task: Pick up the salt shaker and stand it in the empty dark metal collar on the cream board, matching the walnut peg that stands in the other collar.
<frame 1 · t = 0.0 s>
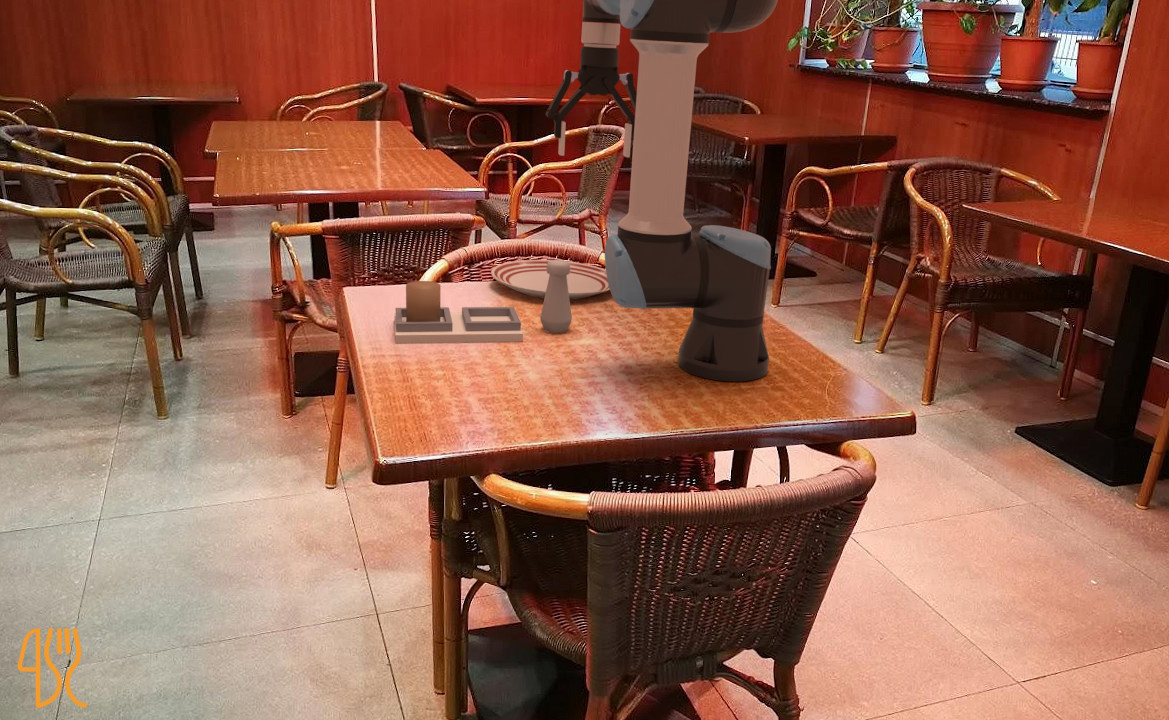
hand: (594, 155, 193), 28 cm above the table, tool pointing down, fingers open, 13 cm apart
layout board: (457, 330, 170), on the table
salt shaker: (555, 330, 174), on the table
dinner plate: (555, 289, 202), on the table
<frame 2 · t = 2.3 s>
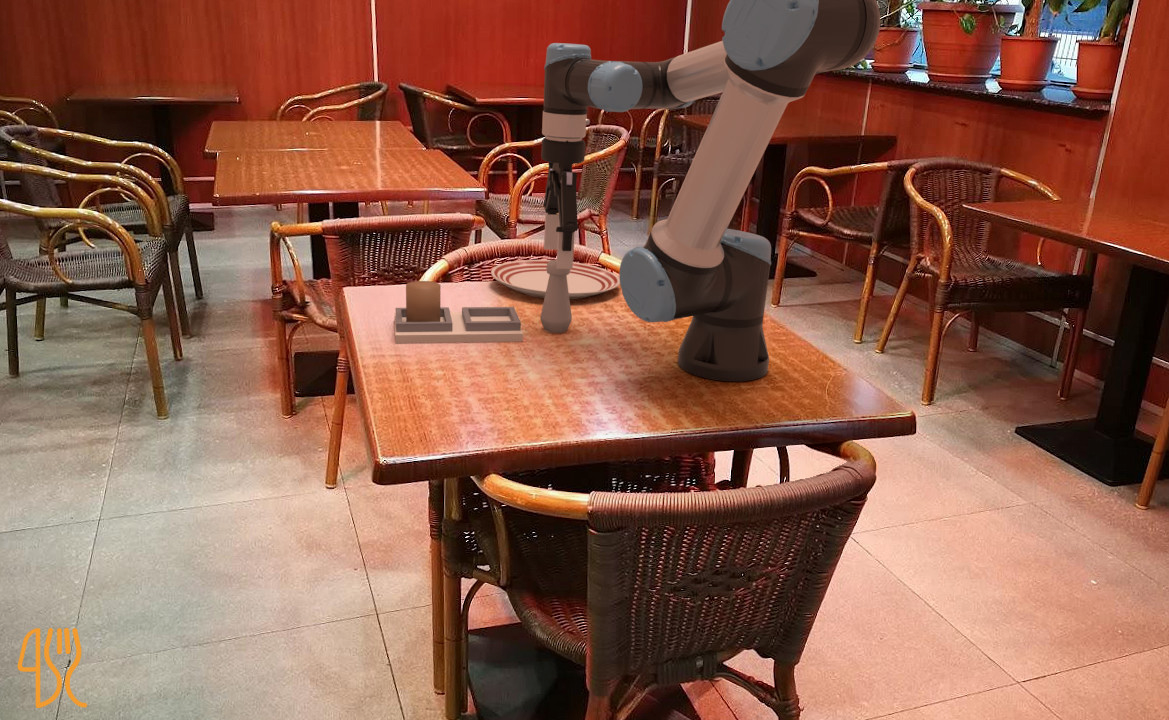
hand: (557, 258, 170), 13 cm above the table, tool pointing down, fingers open, 13 cm apart
nothing on the table moved.
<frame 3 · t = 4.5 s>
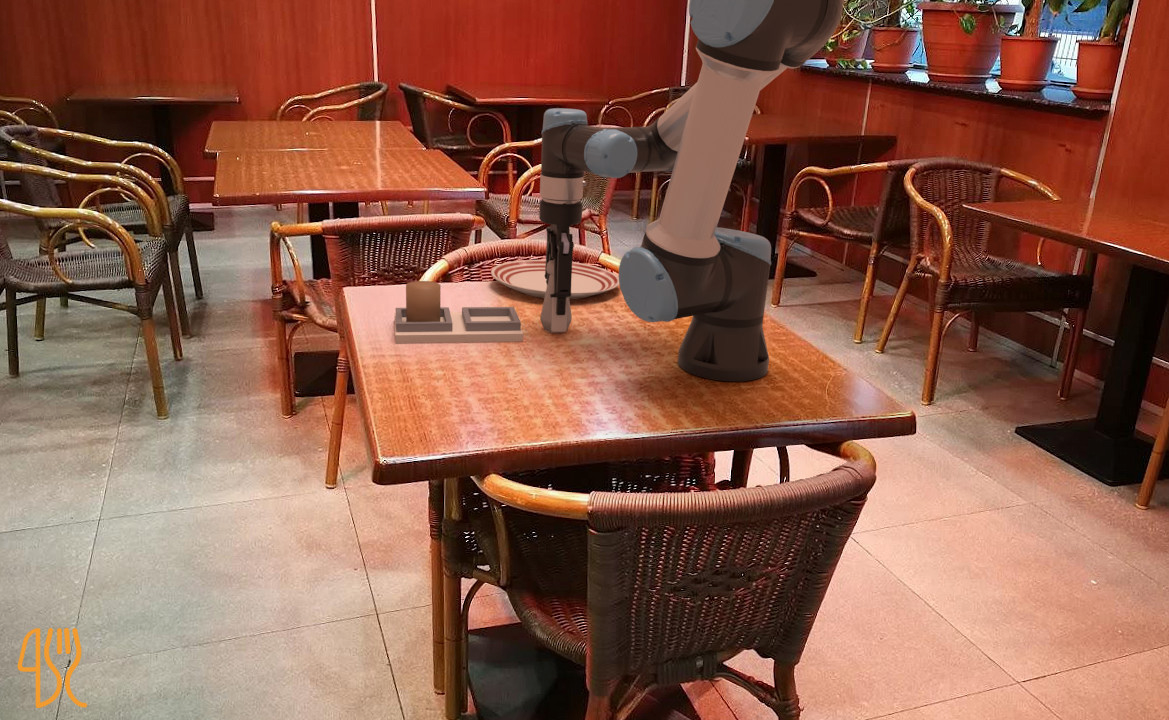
hand: (555, 325, 174), 1 cm above the table, tool pointing down, fingers closed on salt shaker, 6 cm apart
salt shaker: (555, 330, 174), on the table, touching gripper
everything else where it was.
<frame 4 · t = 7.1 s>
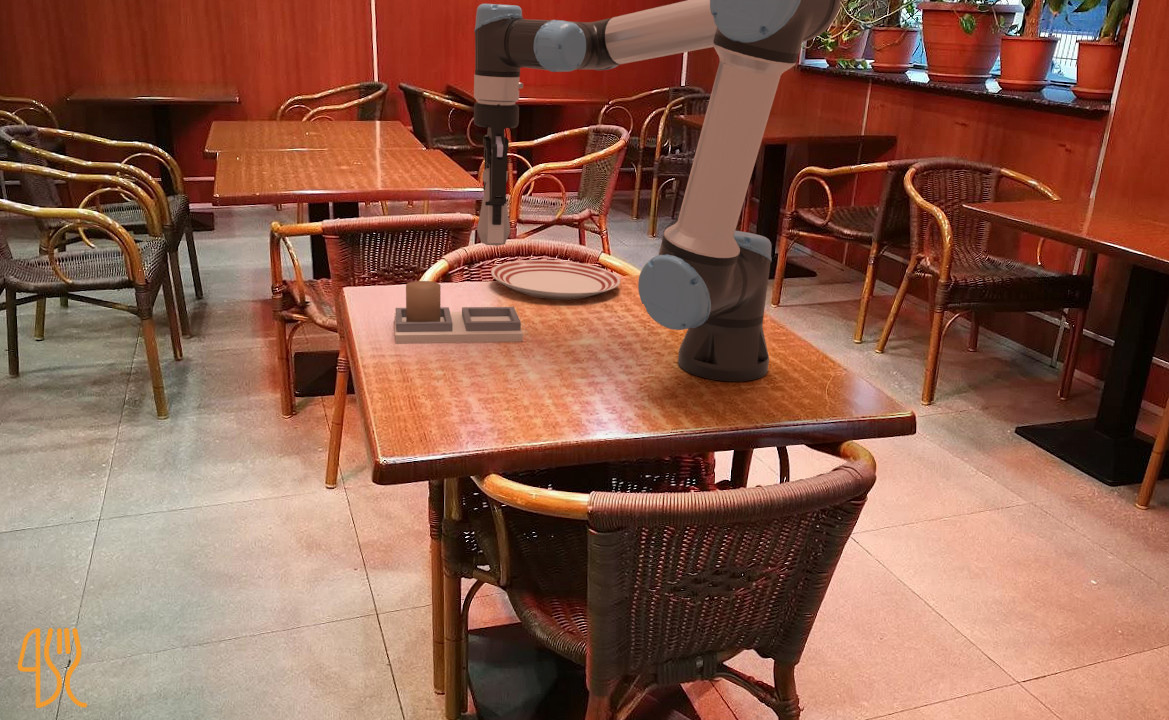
hand: (493, 238, 166), 17 cm above the table, tool pointing down, fingers closed on salt shaker, 6 cm apart
salt shaker: (493, 244, 167), point 16 cm above the table, touching gripper
everything else where it was.
when the fingers open (4 cm above the table, at t = 10.1 s): salt shaker drops 2 cm, resting on layout board.
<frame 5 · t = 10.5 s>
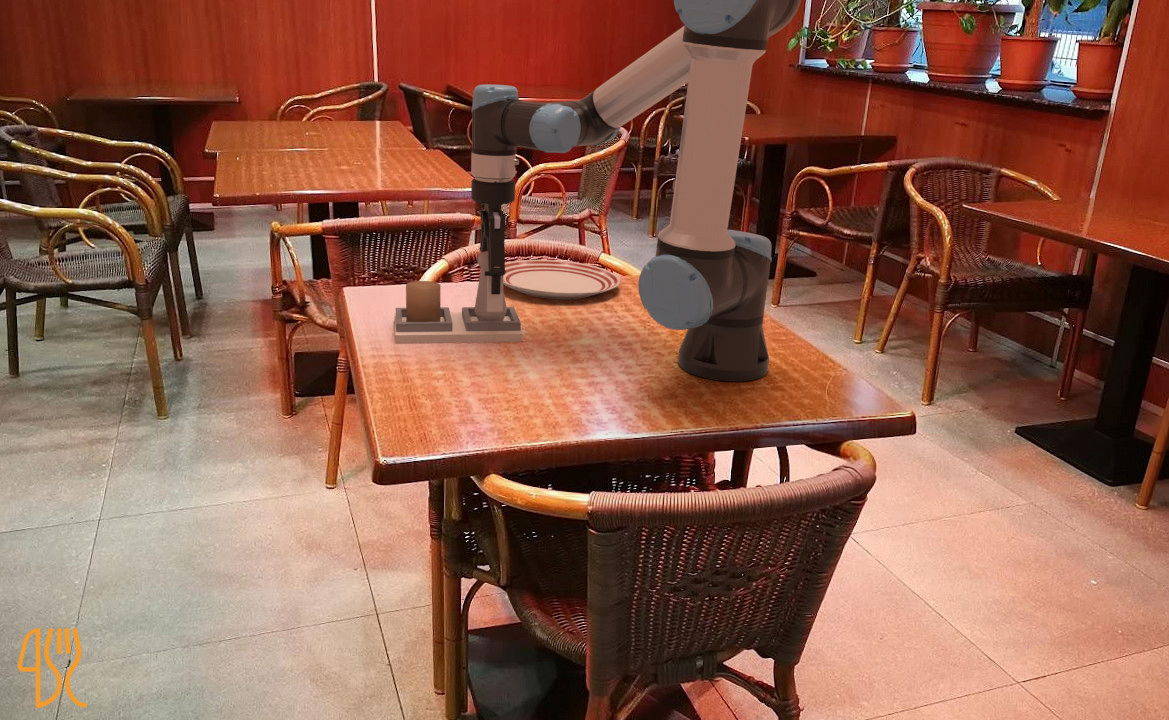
hand: (491, 302, 170), 5 cm above the table, tool pointing down, fingers open, 10 cm apart
salt shaker: (490, 323, 171), point 1 cm above the table, touching layout board
everything else where it was.
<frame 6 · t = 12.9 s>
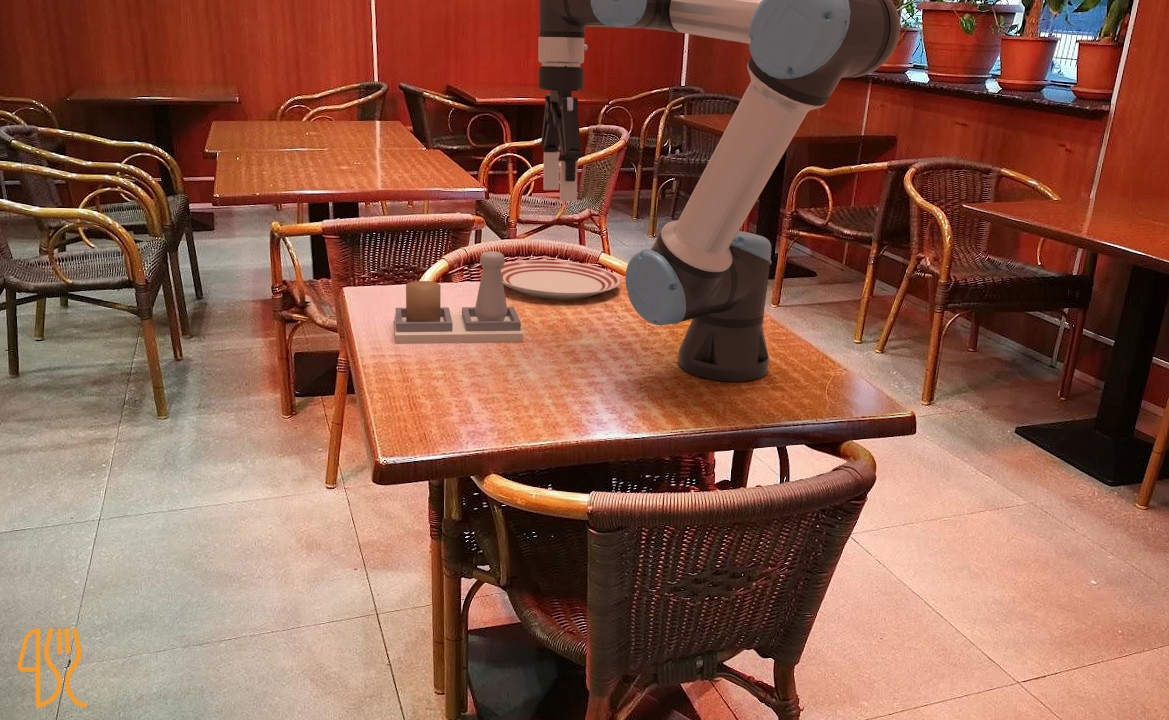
hand: (559, 195, 162), 25 cm above the table, tool pointing down, fingers open, 13 cm apart
nothing on the table moved.
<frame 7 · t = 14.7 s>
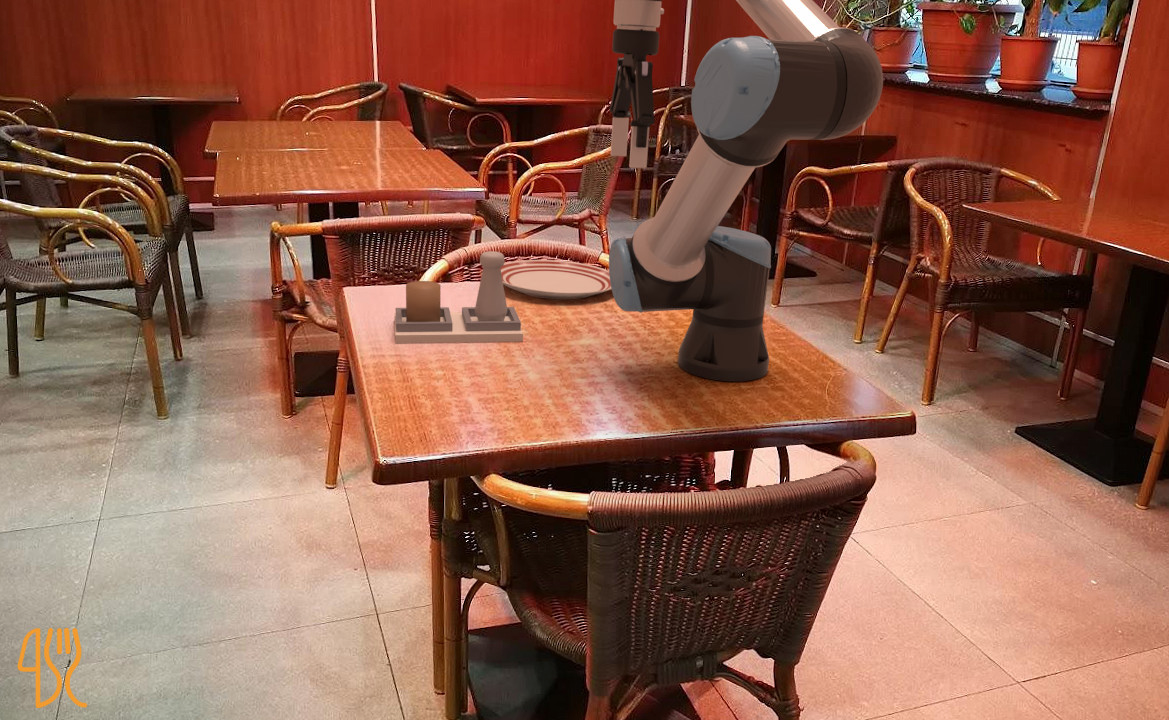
hand: (627, 161, 160), 32 cm above the table, tool pointing down, fingers open, 13 cm apart
nothing on the table moved.
at the end: salt shaker 0.1 cm from the target spot on the layout board, point 1.3 cm above the layout board's base; salt shaker tilted 0°; the gripper is holding nothing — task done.
